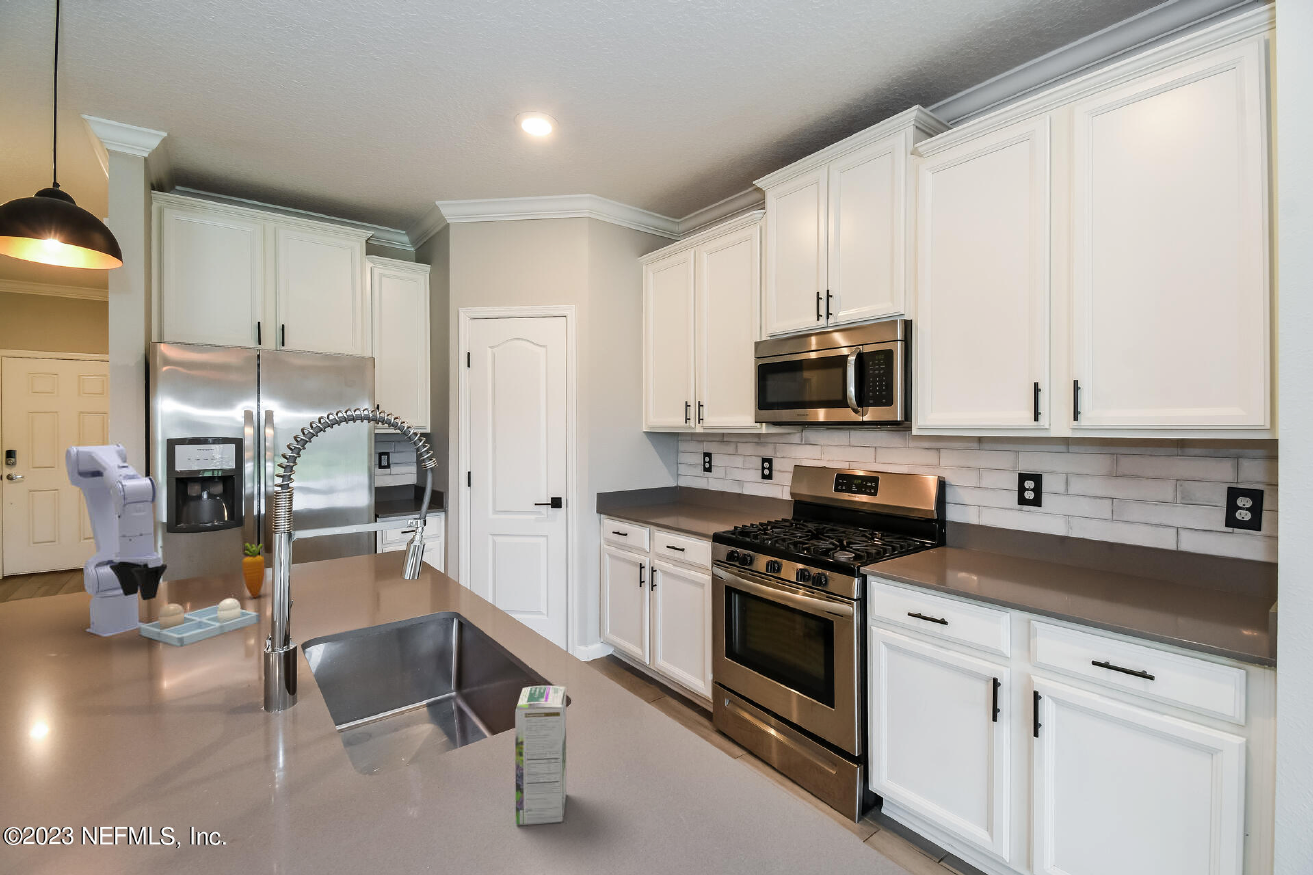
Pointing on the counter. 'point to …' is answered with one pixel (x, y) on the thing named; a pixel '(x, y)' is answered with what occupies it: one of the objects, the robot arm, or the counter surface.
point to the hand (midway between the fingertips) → (139, 596)
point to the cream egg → (228, 610)
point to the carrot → (253, 570)
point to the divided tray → (197, 627)
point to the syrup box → (540, 755)
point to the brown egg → (171, 616)
